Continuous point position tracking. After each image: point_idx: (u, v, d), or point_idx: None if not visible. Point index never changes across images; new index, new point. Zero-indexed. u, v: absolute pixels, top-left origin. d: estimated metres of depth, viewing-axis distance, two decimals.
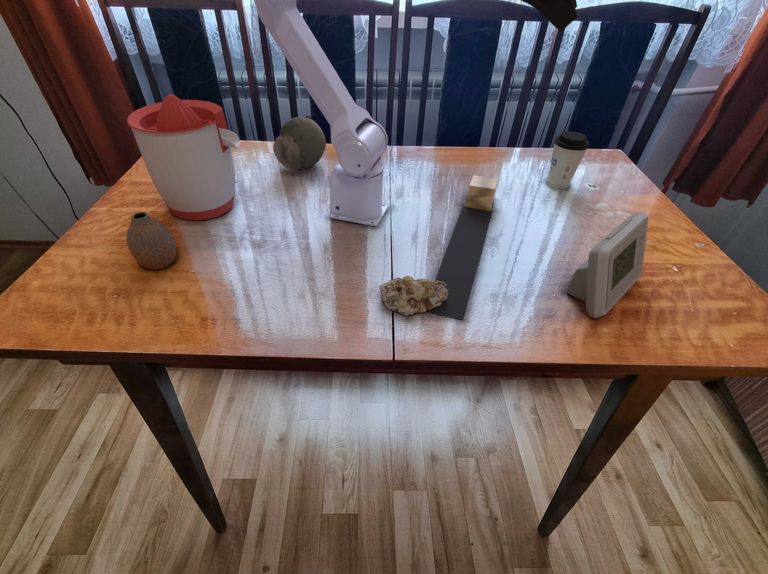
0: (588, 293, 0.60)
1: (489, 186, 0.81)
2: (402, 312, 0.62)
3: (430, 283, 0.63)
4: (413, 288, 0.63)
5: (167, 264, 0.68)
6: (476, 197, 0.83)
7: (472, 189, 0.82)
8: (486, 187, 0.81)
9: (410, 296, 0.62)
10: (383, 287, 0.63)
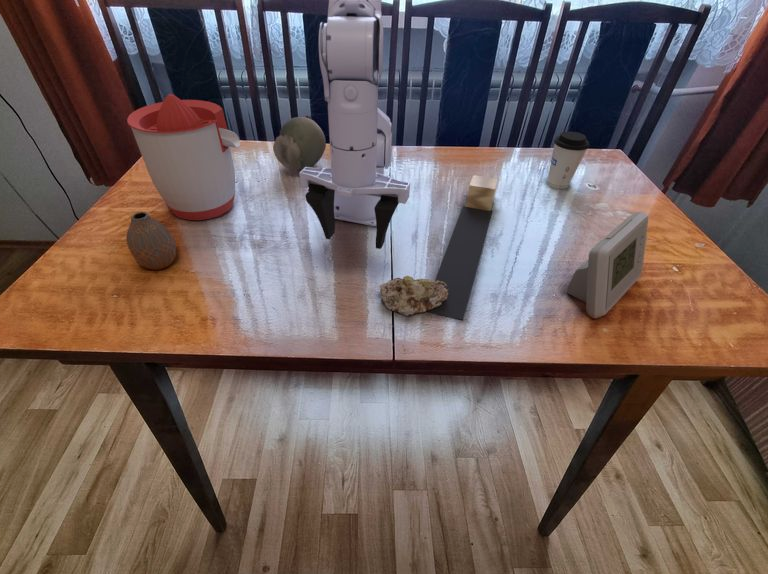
0: (588, 293, 0.60)
1: (489, 186, 0.81)
2: (402, 312, 0.62)
3: (430, 283, 0.63)
4: (413, 288, 0.63)
5: (167, 264, 0.68)
6: (476, 197, 0.83)
7: (472, 189, 0.82)
8: (486, 187, 0.81)
9: (410, 296, 0.62)
10: (383, 287, 0.63)
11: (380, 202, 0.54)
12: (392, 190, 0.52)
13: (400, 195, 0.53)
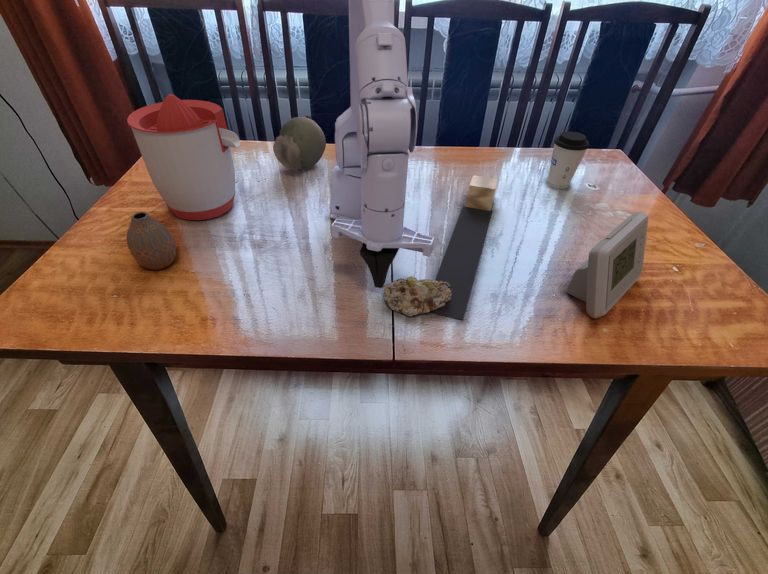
0: (588, 293, 0.60)
1: (489, 186, 0.81)
2: (406, 313, 0.62)
3: (434, 284, 0.63)
4: (417, 288, 0.62)
5: (167, 264, 0.68)
6: (476, 197, 0.83)
7: (472, 189, 0.82)
8: (486, 187, 0.81)
9: (414, 296, 0.62)
10: (386, 288, 0.63)
11: (382, 249, 0.59)
12: (418, 245, 0.56)
13: (425, 249, 0.57)
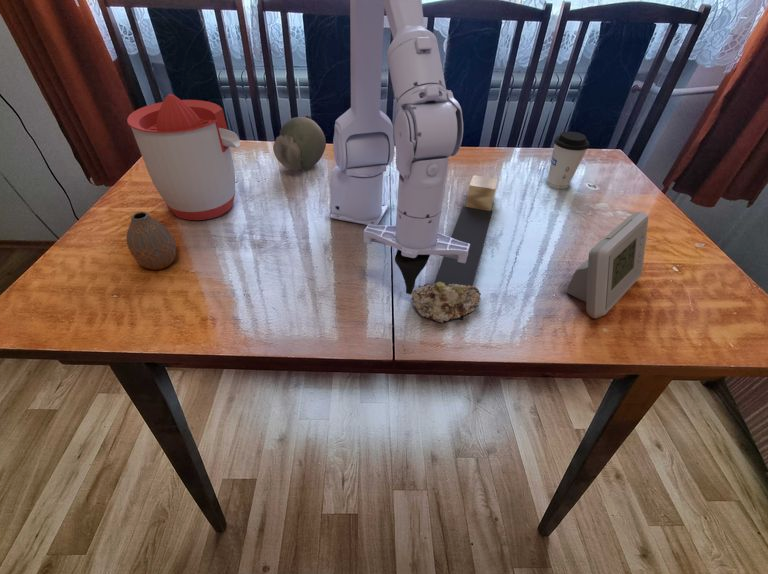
0: (588, 293, 0.60)
1: (489, 186, 0.81)
2: (437, 319, 0.61)
3: (462, 288, 0.62)
4: (446, 294, 0.62)
5: (167, 264, 0.68)
6: (476, 197, 0.83)
7: (472, 189, 0.82)
8: (486, 187, 0.81)
9: (444, 302, 0.61)
10: (416, 294, 0.62)
11: None
12: (454, 251, 0.55)
13: (461, 256, 0.56)
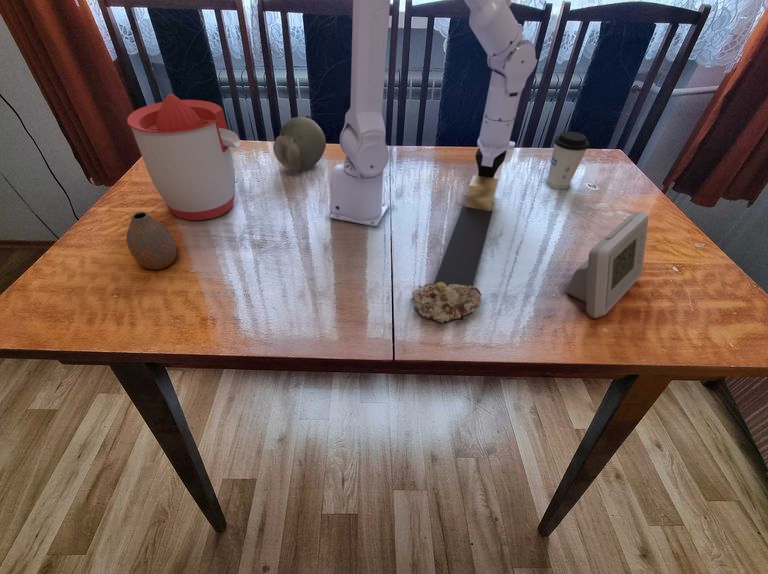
0: (588, 293, 0.60)
1: (489, 186, 0.81)
2: (437, 319, 0.61)
3: (463, 289, 0.62)
4: (447, 294, 0.62)
5: (167, 264, 0.68)
6: (476, 197, 0.83)
7: (472, 189, 0.82)
8: (486, 187, 0.81)
9: (444, 302, 0.61)
10: (416, 294, 0.62)
11: None
12: None
13: None
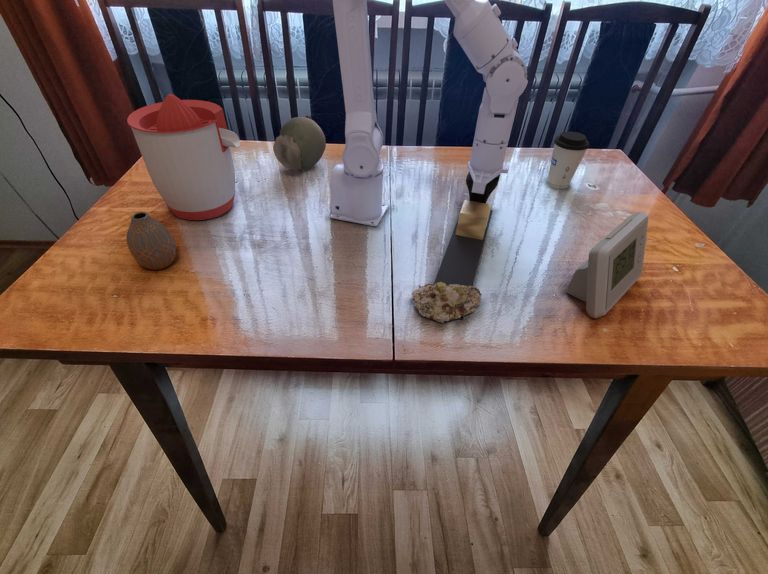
0: (588, 293, 0.60)
1: (481, 213, 0.74)
2: (437, 319, 0.61)
3: (463, 289, 0.62)
4: (447, 294, 0.62)
5: (167, 264, 0.68)
6: (468, 225, 0.75)
7: (463, 217, 0.75)
8: (478, 215, 0.74)
9: (444, 302, 0.61)
10: (416, 294, 0.62)
11: None
12: None
13: None
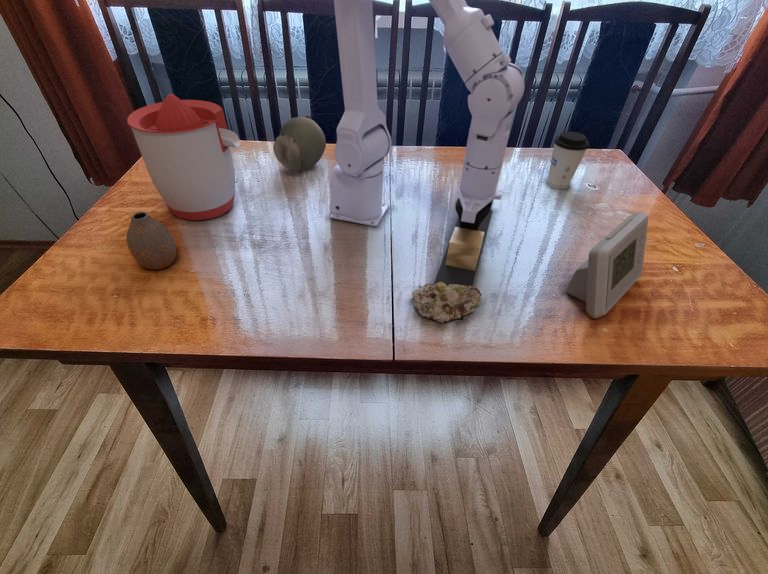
0: (588, 293, 0.60)
1: (473, 243, 0.68)
2: (437, 319, 0.61)
3: (463, 289, 0.62)
4: (447, 294, 0.62)
5: (167, 264, 0.68)
6: (458, 255, 0.69)
7: (453, 247, 0.68)
8: (470, 245, 0.67)
9: (444, 302, 0.61)
10: (416, 294, 0.62)
11: None
12: None
13: None
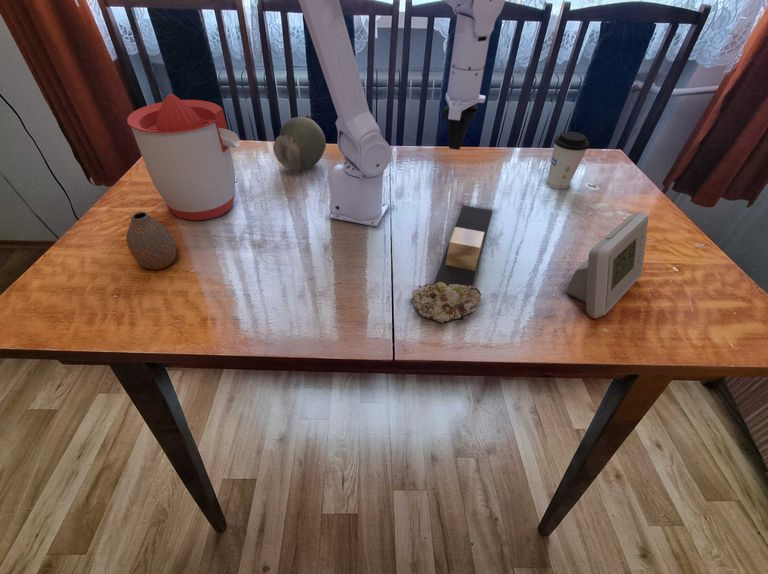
0: (588, 293, 0.60)
1: (473, 243, 0.68)
2: (437, 319, 0.61)
3: (463, 289, 0.62)
4: (447, 294, 0.62)
5: (167, 264, 0.68)
6: (458, 255, 0.69)
7: (453, 247, 0.68)
8: (470, 245, 0.67)
9: (444, 302, 0.61)
10: (416, 294, 0.62)
11: (468, 107, 0.77)
12: None
13: None
